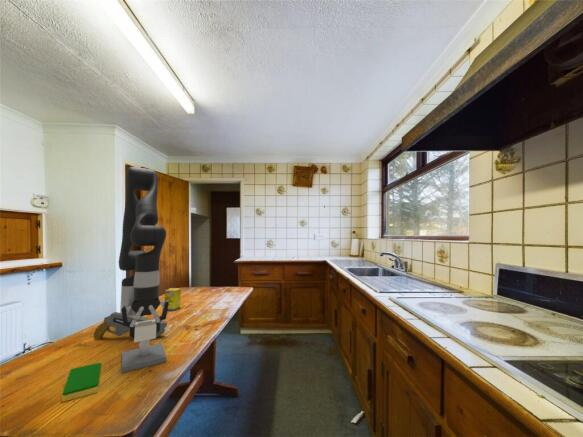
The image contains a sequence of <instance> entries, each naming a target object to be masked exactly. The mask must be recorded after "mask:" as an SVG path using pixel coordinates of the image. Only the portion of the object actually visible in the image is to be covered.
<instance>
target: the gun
mask: <svg viewBox="0 0 583 437" xmlns="http://www.w3.org/2000/svg"><path fill="white" fill-rule="evenodd" d="M132 318H133V315H129V314H127V319H128V321H131V320H132ZM154 319H155V318H149V317H147V318H146V317H144V316H143V317H139V318H138V320H137V321H136V322H142V321H148V320H154ZM155 321H156V320H155ZM167 326H168V322H167V321H165V320H162V321H161V322H160V331H159V332H157V334H156V338H158V337H159V336H161V335H163V334H164V333H165V330H166V329H165V328H167ZM110 327H112V328H114V329H115V330H114V331H113V330H111V329H110ZM106 332H108V333H111V334H113V335H116V336H118V337H121V336H122V335H123V334H127V333H128V332H129V333H130V327H129V326H124V325H123V318H122V313H120V312H116V311H114V312H112V313H111V314H110V315H107V316H106V317H104V319H103V322H102V323H100V324H99V325H98V326H97V327H96V328H95V330H94V332H93V338H94V339H95V340H98V341H99V340H100V339H102V338H103V337H104V335H105V334H106Z"/></svg>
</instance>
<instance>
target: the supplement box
mask: <svg viewBox="0 0 583 437" xmlns="http://www.w3.org/2000/svg"><path fill="white" fill-rule="evenodd" d="M181 292H182V288H177V287H170V288H168V289H165V290H164V299H163V301H166V300H167V301H168V302H169V305H168V311H167V312H169V311H170V312H175V311H177V310H179V309H180V308H181Z"/></svg>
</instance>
